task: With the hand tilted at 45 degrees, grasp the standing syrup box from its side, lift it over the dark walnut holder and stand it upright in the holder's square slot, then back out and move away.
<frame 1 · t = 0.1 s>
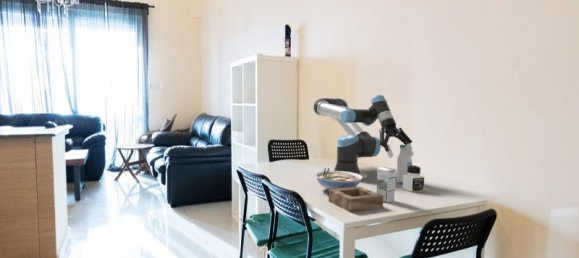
hand: (401, 156, 183), 16 cm above the table, tool tilted 35°, fingers open, 13 cm apart
walnut holder: (355, 204, 150), on the table
syrup box: (385, 201, 157), on the table
milk bottle: (404, 182, 192), on the table, touching gripper
medicine bottle: (412, 190, 177), on the table
ramen bowl: (338, 191, 173), on the table
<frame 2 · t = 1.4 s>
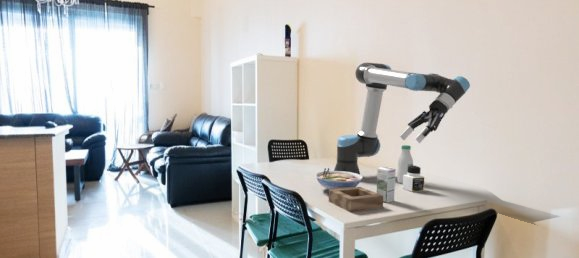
hand: (409, 139, 157), 27 cm above the table, tool tilted 45°, fingers open, 13 cm apart
milk bottle: (404, 183, 192), on the table
everything else where it was.
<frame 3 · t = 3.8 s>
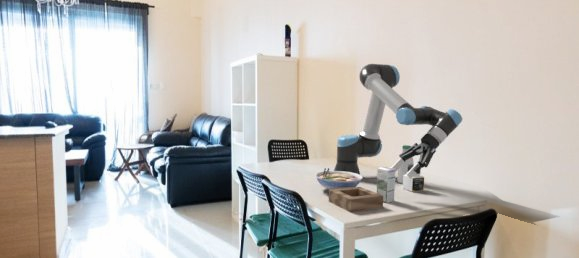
hand: (400, 173, 156), 12 cm above the table, tool tilted 45°, fingers open, 13 cm apart
nothing on the table moved.
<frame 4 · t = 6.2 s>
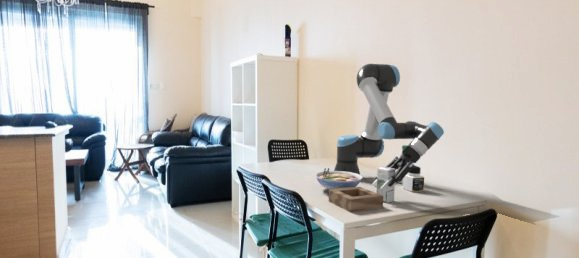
hand: (378, 188, 156), 6 cm above the table, tool tilted 45°, fingers closed on syrup box, 7 cm apart
syrup box: (385, 201, 157), on the table, touching gripper
everything else where it was.
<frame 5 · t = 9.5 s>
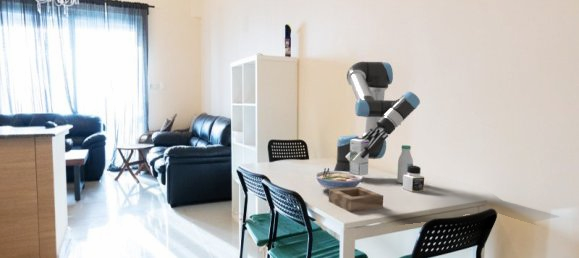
hand: (351, 160, 148), 19 cm above the table, tool tilted 45°, fingers closed on syrup box, 7 cm apart
syrup box: (358, 174, 149), point 13 cm above the table, touching gripper
everything else where it was.
when the fingers open (7 cm above the table, at t = 12.8 s): syrup box drops 1 cm, resting in walnut holder.
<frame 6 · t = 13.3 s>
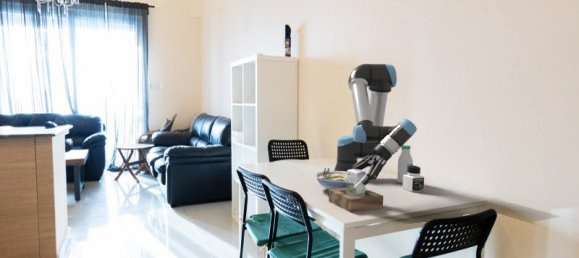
hand: (350, 185, 149), 8 cm above the table, tool tilted 45°, fingers open, 13 cm apart
syrup box: (355, 204, 150), resting in walnut holder
everything else where it was.
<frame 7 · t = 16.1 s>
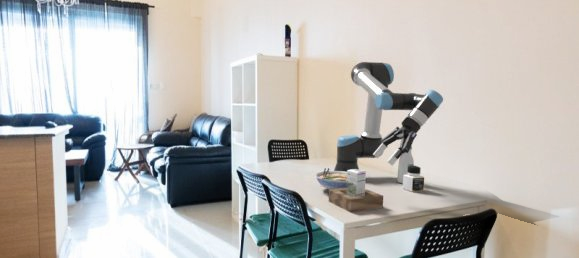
hand: (382, 159, 152), 19 cm above the table, tool tilted 40°, fingers open, 13 cm apart
nothing on the table moved.
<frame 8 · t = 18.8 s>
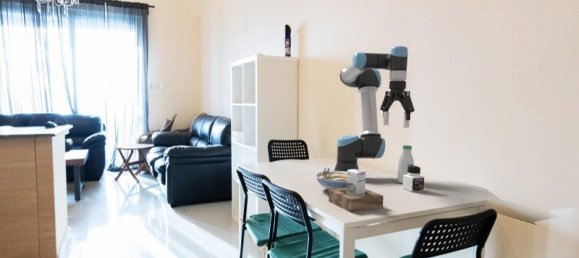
hand: (395, 126, 168), 32 cm above the table, tool pointing down, fingers open, 13 cm apart
nothing on the table moved.
at the end: syrup box 0.1 cm off-centre on the walnut holder, point 0.0 cm above the walnut holder's base; syrup box tilted 0°; the gripper is holding nothing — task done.
